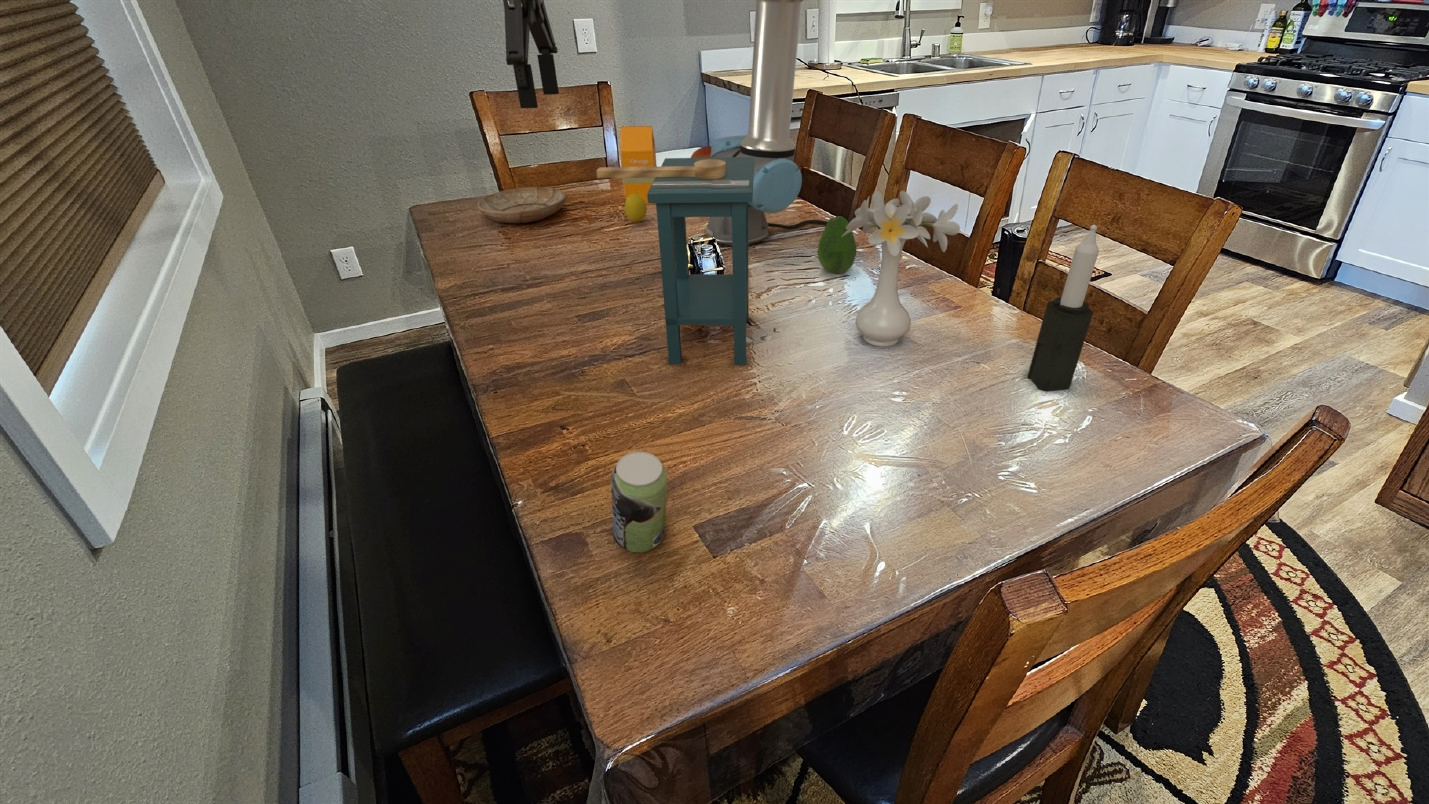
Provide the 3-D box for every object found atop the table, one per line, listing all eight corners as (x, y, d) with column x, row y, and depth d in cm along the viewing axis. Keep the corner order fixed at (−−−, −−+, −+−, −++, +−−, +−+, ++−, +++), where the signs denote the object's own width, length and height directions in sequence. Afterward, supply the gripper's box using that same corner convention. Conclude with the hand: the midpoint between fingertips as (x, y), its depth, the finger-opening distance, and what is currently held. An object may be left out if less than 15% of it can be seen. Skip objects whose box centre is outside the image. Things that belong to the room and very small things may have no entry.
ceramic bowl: (586, 210, 183) (583, 191, 180) (524, 236, 166) (520, 216, 163) (526, 198, 193) (523, 181, 190) (462, 222, 177) (458, 204, 174)
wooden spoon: (595, 181, 100) (593, 169, 99) (601, 172, 104) (600, 160, 103) (725, 179, 99) (724, 166, 98) (726, 170, 103) (726, 158, 102)
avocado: (831, 262, 146) (835, 208, 139) (861, 271, 141) (866, 216, 134) (808, 273, 141) (811, 218, 134) (838, 283, 136) (843, 226, 130)
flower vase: (949, 344, 114) (977, 199, 100) (855, 364, 109) (870, 215, 95) (907, 313, 124) (927, 177, 110) (819, 330, 119) (828, 191, 105)
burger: (686, 186, 199) (684, 152, 193) (694, 174, 210) (692, 141, 204) (730, 187, 197) (729, 152, 191) (736, 174, 208) (735, 141, 202)
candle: (1024, 374, 105) (1066, 219, 91) (1055, 372, 105) (1101, 217, 91) (1040, 391, 100) (1086, 232, 87) (1072, 389, 101) (1124, 230, 87)
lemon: (644, 227, 169) (641, 196, 164) (623, 227, 170) (620, 195, 165) (650, 220, 173) (647, 190, 169) (630, 220, 174) (627, 189, 170)
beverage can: (636, 513, 81) (626, 435, 74) (684, 536, 77) (678, 457, 71) (602, 544, 77) (587, 465, 70) (650, 571, 73) (640, 490, 66)
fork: (652, 189, 95) (651, 185, 95) (654, 184, 97) (654, 180, 97) (748, 188, 94) (748, 184, 94) (749, 183, 96) (749, 179, 96)
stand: (662, 367, 110) (647, 193, 94) (676, 314, 127) (664, 158, 110) (752, 368, 109) (752, 191, 93) (754, 314, 125) (754, 156, 109)
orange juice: (657, 204, 185) (650, 128, 174) (625, 205, 185) (617, 129, 174) (659, 195, 191) (653, 122, 180) (629, 196, 192) (621, 123, 181)
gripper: (518, -44, 115) (540, 89, 127) (464, -44, 94) (496, 114, 106) (560, -45, 114) (578, 88, 126) (515, -47, 94) (541, 113, 106)
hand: (540, 100), depth 116 cm, fingers open, 13 cm apart
